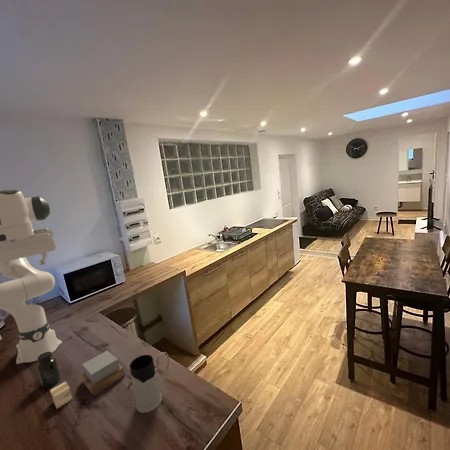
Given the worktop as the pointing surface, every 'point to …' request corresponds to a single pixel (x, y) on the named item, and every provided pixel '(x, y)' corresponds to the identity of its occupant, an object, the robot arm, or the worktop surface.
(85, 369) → the slate top slab
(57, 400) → the birch block
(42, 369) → the supplement bottle
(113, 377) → the walnut base slab
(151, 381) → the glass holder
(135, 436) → the worktop surface
